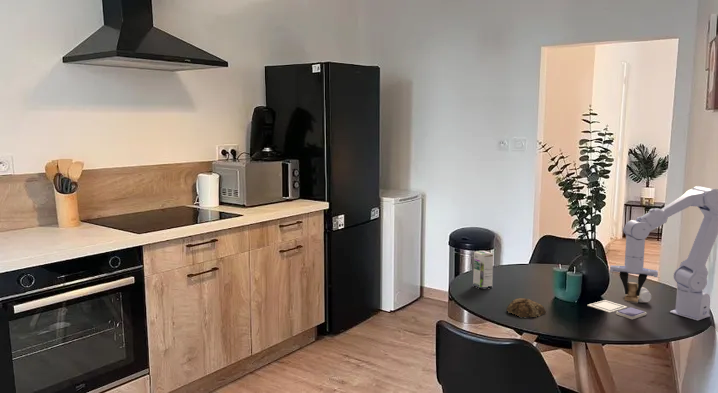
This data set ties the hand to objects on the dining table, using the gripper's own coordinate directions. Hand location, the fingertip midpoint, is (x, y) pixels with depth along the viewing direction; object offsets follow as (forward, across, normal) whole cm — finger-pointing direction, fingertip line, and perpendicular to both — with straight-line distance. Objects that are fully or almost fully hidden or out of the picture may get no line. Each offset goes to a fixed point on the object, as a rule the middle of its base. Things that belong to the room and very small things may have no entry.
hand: (632, 294), depth 187 cm
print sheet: (+7, +8, -5) cm, 12 cm away
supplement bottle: (+4, +2, -22) cm, 23 cm away
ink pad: (+7, 0, 0) cm, 7 cm away
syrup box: (+8, +54, -7) cm, 55 cm away
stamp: (+2, 0, 0) cm, 2 cm away
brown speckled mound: (+8, +33, +15) cm, 37 cm away
